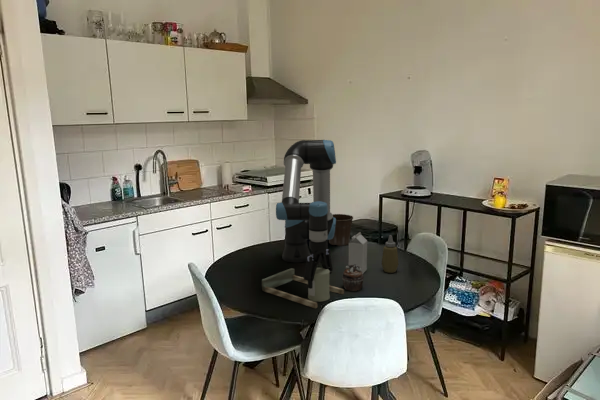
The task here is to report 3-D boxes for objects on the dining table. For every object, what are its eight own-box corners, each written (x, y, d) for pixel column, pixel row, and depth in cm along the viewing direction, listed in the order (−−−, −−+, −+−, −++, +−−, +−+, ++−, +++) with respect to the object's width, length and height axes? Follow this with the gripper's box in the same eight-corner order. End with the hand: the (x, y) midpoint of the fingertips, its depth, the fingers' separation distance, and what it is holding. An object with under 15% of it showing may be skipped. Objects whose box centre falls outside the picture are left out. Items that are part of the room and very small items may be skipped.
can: (306, 293, 193) (306, 266, 191) (328, 292, 194) (328, 265, 192) (309, 302, 184) (308, 274, 182) (331, 301, 185) (331, 273, 183)
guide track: (262, 290, 197) (261, 279, 197) (291, 278, 212) (291, 268, 211) (315, 308, 178) (315, 296, 177) (343, 293, 193) (343, 282, 192)
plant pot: (358, 244, 266) (358, 217, 263) (336, 248, 258) (336, 221, 255) (342, 238, 280) (342, 212, 277) (320, 242, 272) (320, 216, 269)
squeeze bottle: (398, 274, 215) (399, 237, 212) (381, 273, 217) (381, 237, 213) (398, 268, 223) (399, 233, 220) (381, 267, 225) (382, 232, 221)
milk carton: (366, 270, 222) (367, 232, 218) (362, 274, 215) (363, 236, 212) (353, 268, 225) (353, 231, 221) (348, 272, 218) (348, 234, 215)
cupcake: (337, 286, 201) (337, 264, 199) (355, 282, 206) (355, 261, 204) (350, 293, 193) (350, 271, 191) (368, 288, 198) (368, 267, 196)
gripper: (308, 247, 174) (309, 302, 178) (341, 235, 190) (341, 286, 194) (294, 243, 179) (295, 297, 183) (327, 232, 195) (327, 282, 199)
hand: (318, 291), depth 189 cm, fingers closed on can, 9 cm apart
